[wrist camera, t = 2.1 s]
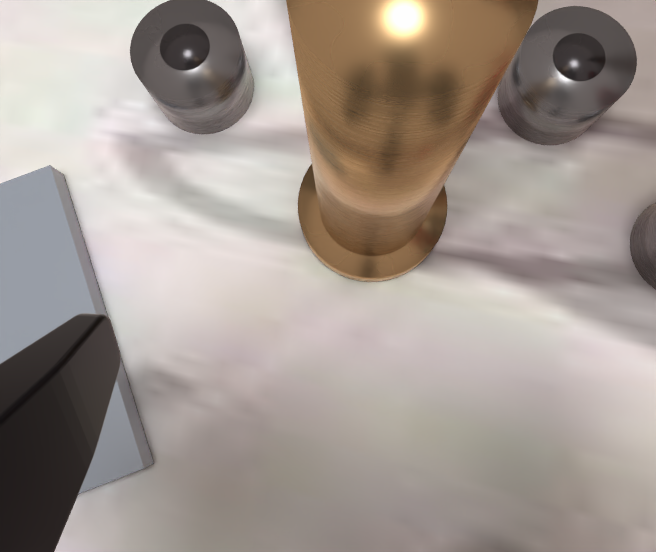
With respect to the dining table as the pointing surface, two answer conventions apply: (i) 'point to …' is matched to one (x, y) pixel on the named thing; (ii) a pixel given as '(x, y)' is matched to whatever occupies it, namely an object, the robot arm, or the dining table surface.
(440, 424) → the dining table surface
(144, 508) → the dining table surface
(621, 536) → the dining table surface
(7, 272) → the slate pad
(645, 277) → the cylinder
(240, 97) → the spacer
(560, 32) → the cylinder
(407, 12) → the disc
